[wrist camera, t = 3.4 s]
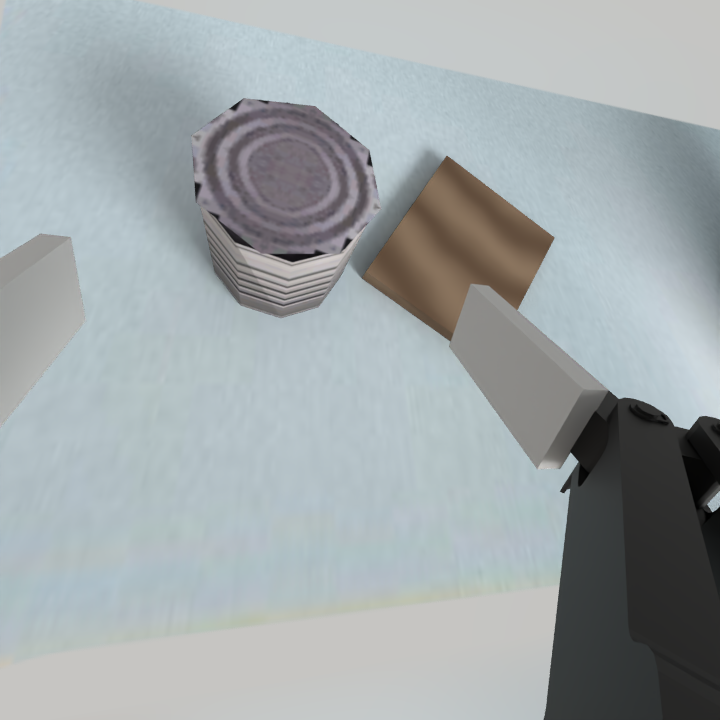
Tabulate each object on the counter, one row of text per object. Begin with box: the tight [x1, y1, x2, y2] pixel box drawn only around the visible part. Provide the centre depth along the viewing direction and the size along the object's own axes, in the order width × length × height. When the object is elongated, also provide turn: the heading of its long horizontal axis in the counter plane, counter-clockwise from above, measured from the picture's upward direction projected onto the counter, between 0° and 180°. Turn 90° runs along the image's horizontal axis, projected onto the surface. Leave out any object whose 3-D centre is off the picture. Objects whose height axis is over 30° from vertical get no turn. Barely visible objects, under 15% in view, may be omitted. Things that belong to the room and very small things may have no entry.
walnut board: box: [362, 156, 554, 341], centre depth 40 cm, size 16×14×2 cm
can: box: [191, 98, 381, 318], centre depth 30 cm, size 11×11×12 cm
